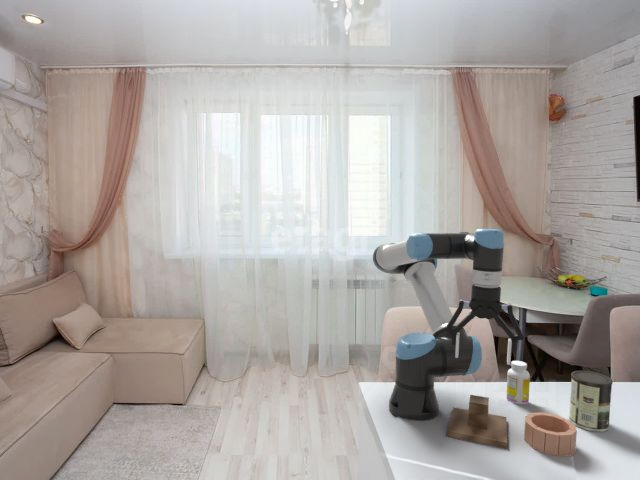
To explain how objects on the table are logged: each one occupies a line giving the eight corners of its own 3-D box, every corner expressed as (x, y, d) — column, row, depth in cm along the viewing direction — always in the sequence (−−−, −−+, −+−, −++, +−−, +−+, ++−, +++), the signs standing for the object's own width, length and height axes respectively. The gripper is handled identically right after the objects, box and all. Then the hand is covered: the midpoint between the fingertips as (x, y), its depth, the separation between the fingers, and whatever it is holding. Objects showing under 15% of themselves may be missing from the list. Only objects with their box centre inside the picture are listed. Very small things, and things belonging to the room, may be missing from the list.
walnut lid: (447, 436, 121) (448, 406, 120) (452, 412, 135) (454, 385, 134) (506, 448, 115) (508, 417, 115) (506, 421, 129) (507, 393, 129)
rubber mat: (445, 438, 121) (445, 436, 121) (451, 412, 136) (451, 411, 136) (508, 451, 115) (508, 449, 115) (507, 423, 130) (508, 421, 130)
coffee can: (600, 416, 135) (603, 371, 133) (615, 434, 125) (619, 385, 123) (563, 413, 137) (566, 368, 135) (575, 429, 127) (578, 382, 125)
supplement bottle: (527, 398, 146) (529, 361, 145) (529, 407, 140) (532, 368, 139) (505, 395, 148) (507, 358, 147) (506, 404, 142) (508, 365, 141)
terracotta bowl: (525, 451, 115) (526, 429, 115) (523, 429, 126) (524, 409, 126) (578, 462, 111) (579, 439, 110) (571, 438, 122) (572, 417, 121)
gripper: (438, 283, 122) (435, 357, 125) (538, 291, 114) (532, 371, 116) (440, 279, 129) (437, 349, 132) (534, 286, 121) (529, 361, 123)
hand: (482, 359), depth 124 cm, fingers open, 13 cm apart
